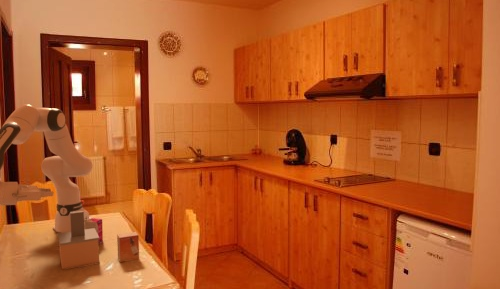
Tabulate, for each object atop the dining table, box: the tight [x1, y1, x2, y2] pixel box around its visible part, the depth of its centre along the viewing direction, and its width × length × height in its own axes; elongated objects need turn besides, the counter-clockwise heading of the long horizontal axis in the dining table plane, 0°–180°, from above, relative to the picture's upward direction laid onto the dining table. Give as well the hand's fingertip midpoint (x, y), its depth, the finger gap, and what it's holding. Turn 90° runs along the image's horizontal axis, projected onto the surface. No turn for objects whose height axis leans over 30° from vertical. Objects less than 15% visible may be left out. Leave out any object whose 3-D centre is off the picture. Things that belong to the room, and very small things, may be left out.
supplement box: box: [85, 217, 104, 245], centre depth 189 cm, size 6×6×12 cm
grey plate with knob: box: [57, 211, 99, 246], centre depth 167 cm, size 15×15×11 cm
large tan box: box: [59, 240, 100, 271], centre depth 168 cm, size 14×14×10 cm
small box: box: [116, 231, 140, 263], centre depth 170 cm, size 8×6×10 cm
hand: (51, 192), depth 162 cm, fingers open, 8 cm apart
